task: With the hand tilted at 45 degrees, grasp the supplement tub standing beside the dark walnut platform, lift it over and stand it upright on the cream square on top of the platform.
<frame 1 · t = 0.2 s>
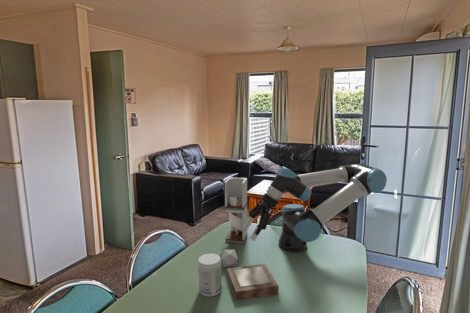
hand: (248, 233, 150), 16 cm above the table, tool tilted 35°, fingers open, 13 cm apart
die: (229, 266, 151), on the table
walnut platform: (251, 285, 135), on the table
supplement tub: (210, 291, 131), on the table
display case: (236, 238, 181), on the table
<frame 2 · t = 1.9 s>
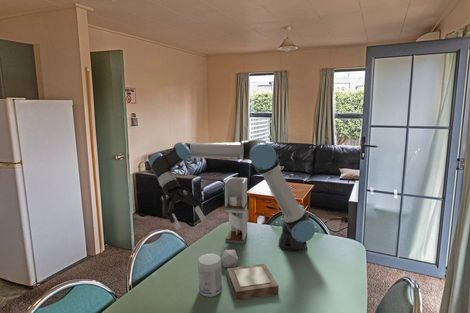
hand: (191, 224, 134), 27 cm above the table, tool tilted 45°, fingers open, 13 cm apart
nothing on the table moved.
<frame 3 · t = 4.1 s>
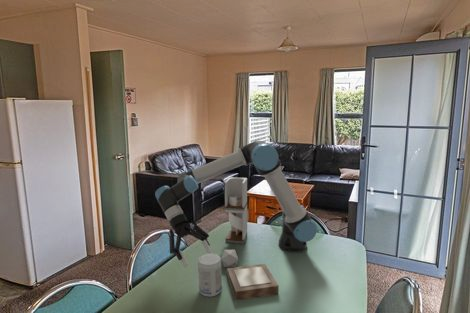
hand: (199, 259, 132), 12 cm above the table, tool tilted 45°, fingers open, 13 cm apart
nothing on the table moved.
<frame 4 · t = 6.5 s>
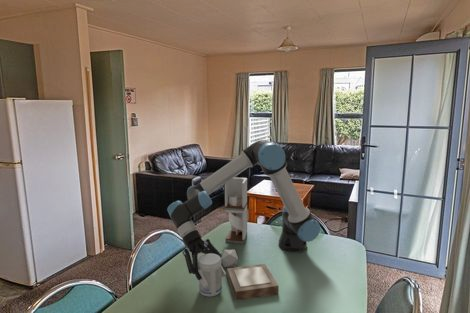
hand: (215, 280, 128), 6 cm above the table, tool tilted 45°, fingers closed on supplement tub, 10 cm apart
supplement tub: (210, 291, 131), on the table, touching gripper
everything else where it was.
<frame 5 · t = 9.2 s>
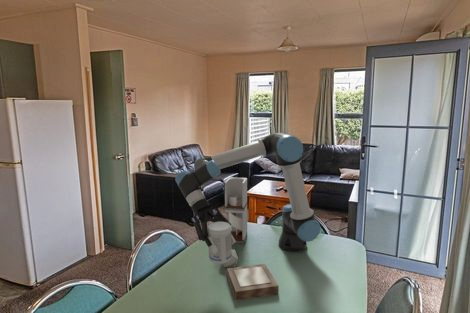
hand: (225, 247, 127), 20 cm above the table, tool tilted 45°, fingers closed on supplement tub, 10 cm apart
supplement tub: (220, 259, 130), point 14 cm above the table, touching gripper
everything else where it was.
when the fingers open (12 cm above the table, at t = 12.2 s): supplement tub drops 2 cm, resting on walnut platform.
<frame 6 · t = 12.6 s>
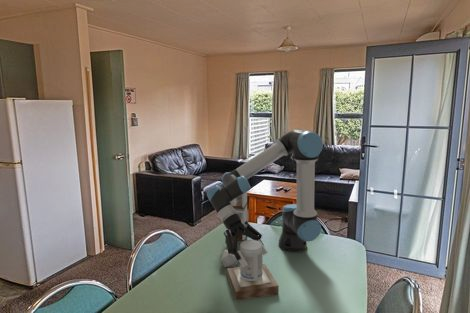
hand: (255, 259, 131), 13 cm above the table, tool tilted 45°, fingers open, 13 cm apart
supplement tub: (251, 276, 134), point 4 cm above the table, touching walnut platform
everything else where it was.
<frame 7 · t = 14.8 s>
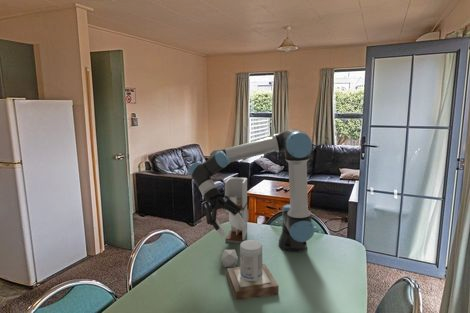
hand: (234, 230, 138), 22 cm above the table, tool tilted 45°, fingers open, 13 cm apart
nothing on the table moved.
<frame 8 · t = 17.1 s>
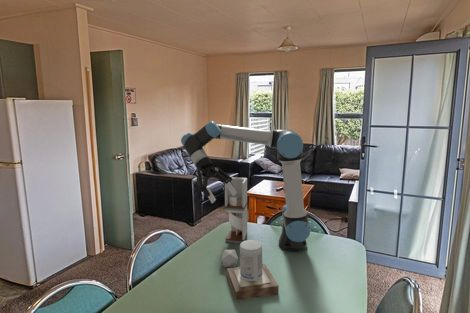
hand: (224, 198, 141), 36 cm above the table, tool tilted 45°, fingers open, 13 cm apart
nothing on the table moved.
at the end: supplement tub inside the target area on the walnut platform (0.2 cm from its centre), point 4.1 cm above the walnut platform's base; supplement tub tilted 0°; the gripper is holding nothing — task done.
